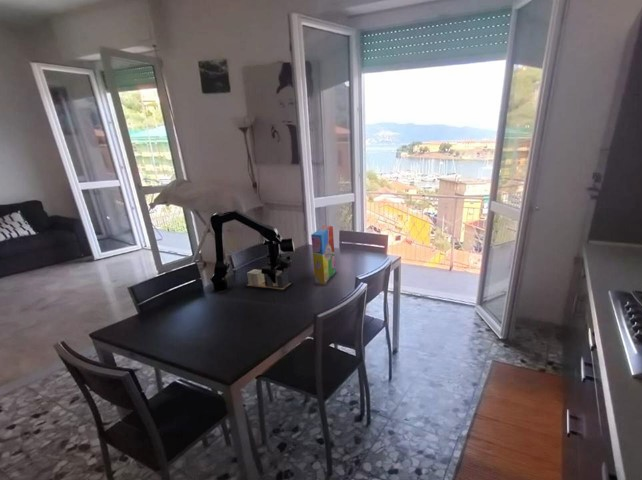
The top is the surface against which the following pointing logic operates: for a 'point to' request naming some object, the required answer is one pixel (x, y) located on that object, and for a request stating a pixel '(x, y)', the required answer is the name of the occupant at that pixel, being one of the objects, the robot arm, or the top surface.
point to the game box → (323, 254)
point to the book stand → (266, 285)
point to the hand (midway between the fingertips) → (277, 281)
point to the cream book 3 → (276, 278)
